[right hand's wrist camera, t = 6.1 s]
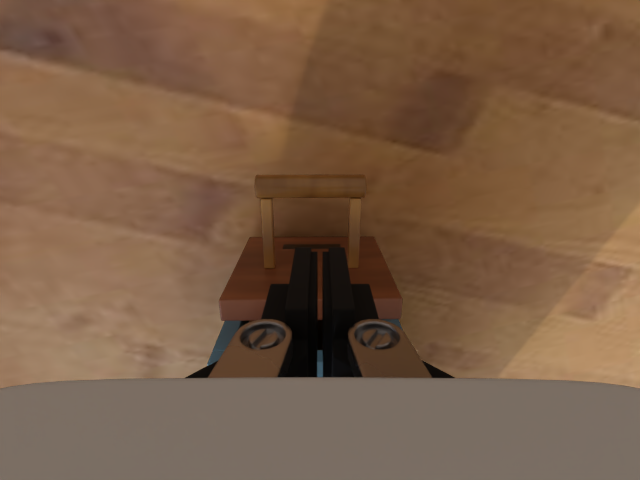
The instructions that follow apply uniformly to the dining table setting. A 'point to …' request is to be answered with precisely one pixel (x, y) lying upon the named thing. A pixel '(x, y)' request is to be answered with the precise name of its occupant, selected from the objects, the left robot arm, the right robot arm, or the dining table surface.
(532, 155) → the dining table surface
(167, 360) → the dining table surface
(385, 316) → the drawer
